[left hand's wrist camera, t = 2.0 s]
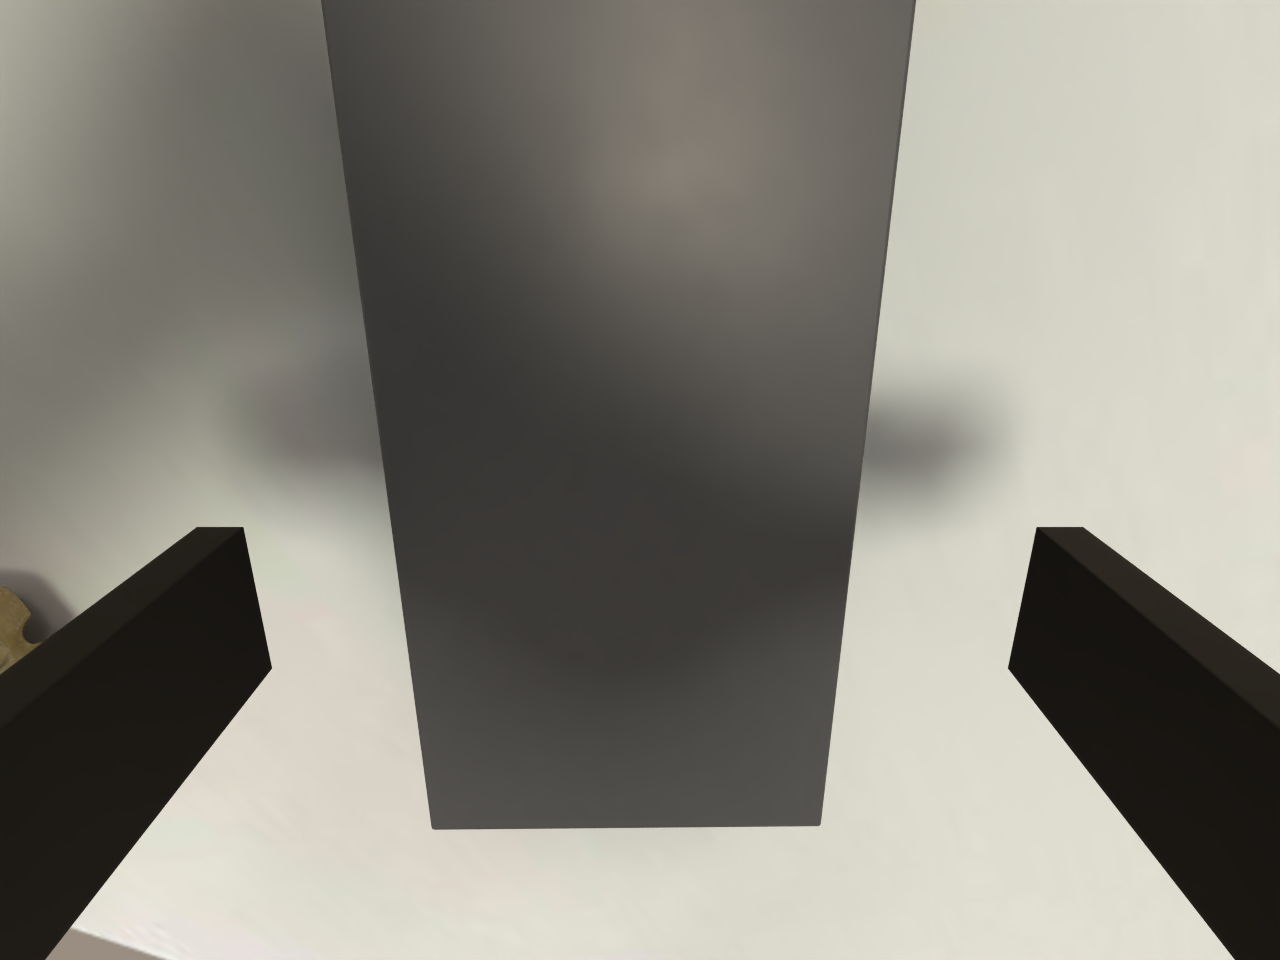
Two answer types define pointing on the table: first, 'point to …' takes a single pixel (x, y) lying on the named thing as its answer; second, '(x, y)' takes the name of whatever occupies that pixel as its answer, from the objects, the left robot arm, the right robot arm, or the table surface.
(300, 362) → the table surface
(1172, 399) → the table surface
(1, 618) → the sculpture
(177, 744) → the left robot arm
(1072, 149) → the table surface
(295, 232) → the table surface
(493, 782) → the long gray bar
